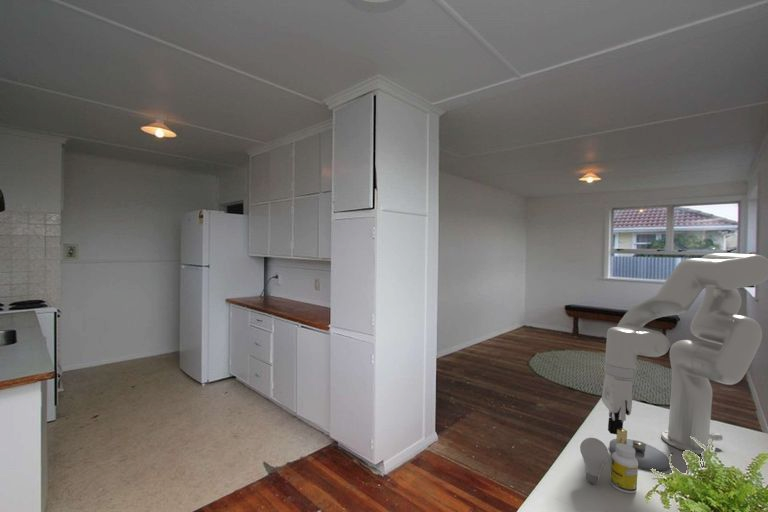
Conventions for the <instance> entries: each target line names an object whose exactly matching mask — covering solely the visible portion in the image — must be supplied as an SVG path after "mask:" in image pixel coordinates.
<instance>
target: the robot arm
mask: <svg viewBox="0 0 768 512" xmlns="http://www.w3.org/2000/svg"><path fill="white" fill-rule="evenodd" d="M767 280H768V258H767V257H765V256H763V255H760V254H755V253H754V254H753V253H752V254H751V253H747V254H746V253H725V252H724V253H723V252H720V253H719V252H718V253H709V254H705V255H703V256H701V257H700V258H697V257H695V258H693V257H692V258H686V259H683V260H681V261H679V262H678V264H677V265H676V267H675V268H674V269H673V271H672V272H671V273H670V274H669V276H668V277H667V278H666V280H665V282H664V283H663V284H662V286H661V287H660V289H659V290H658V291H657V293H656V294H654V295H653V296H651V297H649V298H647V299H644V300H643V301H641V302H640V303H637V304H636V305H635V306H633V307H631V308H630V309H628V311H626V312H625V314H624V315H623V317H622V318H621V319H620V321H619V322H618V324H617V325H616V326H613V327H610V328H608V329H607V331H606V343H605V358H604V368H603V369H604V371H603V372H604V373H603V374H604V380H603V387H602V392H601V402H602V403H603V404H604V406H605V407H606V408H607V410H608V425H607V430H608V432H609V434H611V435H616V436H617V428H622V429H624V428H623V427H624V421H625V422H626V418H627V416H630V415H631V414H632V408H633V381H635V380H636V371H637V359H638V358H637V357H638V355H639V356H644V357H652V358H658V357H661V356H664V355H666V353H668V351H669V361H670V367H671V368H670V369H671V385H670V386H671V389H670V403H669V413H668V414H669V415H668V429H666V430H663V431H661V438H662V440H663V441H664V442H665V443H667V444H668V445H670V446H672V447H674V448H676V449H678V450H681V451H683V450H690V451H692V452H694V453H696V454H695V455H699V456H701V455H700V454H701V453H702V452H703V451H704V449H703V448H701V447H700V446H699V445H698V444H697V443H696V442H695V441H694V440H693V439H691V438H690V436H692V437H695V438H696V439H697V440H698V441H700V442H701V443H702V444H704V445H705V446H706V447H707V446H708V440H709V438H711V439H712V442H714V441H715V442H717V441H723V439H724V438H723V435H722V434H720V433H712V432H710V431H711V430H710V429H711V417H712V407H713V406H712V404H713V403H712V402H713V387H712V385H711V382H710V381H713V382H717V383H720V384H722V385H723V384H724V385H731V386H732V385H736V384H738V383H739V382H741V380H743V378H744V377H745V375H746V373H747V372H748V369H749V368H750V365H751V364H752V361H753V360H754V357H755V355H756V354H757V352H758V350H759V348H760V345H761V342H762V339H763V330H762V327H761V325H760V324H759V322H758V321H756V320H755V319H754V318H751V317H749V316H746V315H741V314H738V313H739V311H740V309H741V306H742V301H743V300H742V296H741V294H740V291H739V290H738V289H741V288H747V287H751V286H758V285H760V284H763V283H765V282H766V281H767ZM704 289H705V290H704ZM703 290H704V296H703V298H702V301H701V303H700V304H699V306H698V309H697V310H696V312H695V315H694V316H693V318H692V320H691V323H690V327H689V329H690V332H691V334H692V335H693V336H694V337H696V338H697V339H700V340H703V341H706V342H709V343H713V344H717V345H721V347H719V346H715V345H711V344H707V343H705V342H700V341H695V340H691V339H682V340H677V341H676V342H674V343H673V344H672V345H671V344H670V343H671V342H670V340H669V339H668V337H667V336H666V335H665V334H664V333H662V332H660V331H657V330H655V329H649V328H646V327H644V326H646V324H648V323H649V322H651V321H654V320H656V319H659V318H663V317H669V316H675V315H681V314H684V313H686V312H688V311H689V310H690V309H691V306H693V304H694V302H695V301H696V299H698V297H699V295H700V294H701V293H702V291H703ZM670 345H671V346H670ZM712 442H711V443H712ZM711 450H712V451H715V452H716V447H715V446H714V445H713V444H712V447H711Z"/></svg>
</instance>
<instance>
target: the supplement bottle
mask: <svg viewBox="0 0 768 512" xmlns="http://www.w3.org/2000/svg"><path fill="white" fill-rule="evenodd" d="M638 472H639V467H638V461H637V459H636V458H635V449H634V448H633V447H631V446H629V445H627V444H622V443H618V444H616V452H614V453H612V454H611V464H610V477H609V479H610V484H611V486H613V487H614V488H615V489H617V490H618V491H620V492H622V493H626V494H635V493H636V492H637V486H638V485H637V484H638V475H639V474H638Z"/></svg>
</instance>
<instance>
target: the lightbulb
mask: <svg viewBox="0 0 768 512" xmlns="http://www.w3.org/2000/svg"><path fill="white" fill-rule="evenodd" d="M579 448H580V449H579V450H580V453H581V454H580V455H581V456H582V459H583V461H584V464H585V471H586V480H587V481H588V482H589V483H590V484H592V485H594V484H598V483H599V479H600V475H601V472H602V471H601V470H602V468H603V466H605V464H606V463H607V462H608V460H609V457H610V454H609V450H608V448H607V445H606V444H605V443H604V442H603V441H601V440H600V439H598V438H595V437H587V438H585V439H583V440H582V441H581V443H580V446H579Z"/></svg>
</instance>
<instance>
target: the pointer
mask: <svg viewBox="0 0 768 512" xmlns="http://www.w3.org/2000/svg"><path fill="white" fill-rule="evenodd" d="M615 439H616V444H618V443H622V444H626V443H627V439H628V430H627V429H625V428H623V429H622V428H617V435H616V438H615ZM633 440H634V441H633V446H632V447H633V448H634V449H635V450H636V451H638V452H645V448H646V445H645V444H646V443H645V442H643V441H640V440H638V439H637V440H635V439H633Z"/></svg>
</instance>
